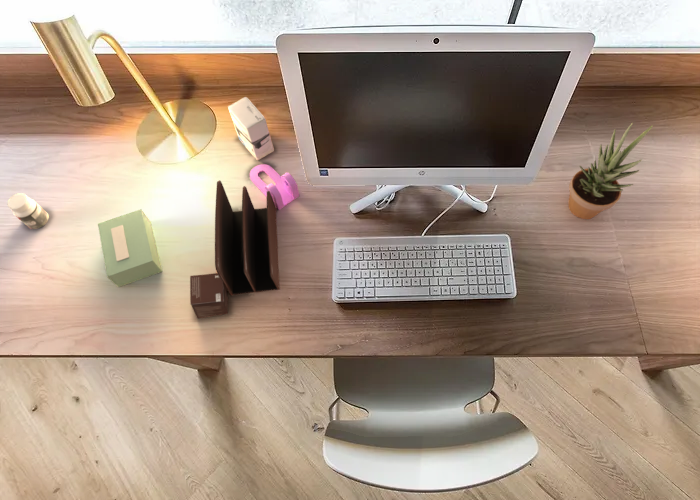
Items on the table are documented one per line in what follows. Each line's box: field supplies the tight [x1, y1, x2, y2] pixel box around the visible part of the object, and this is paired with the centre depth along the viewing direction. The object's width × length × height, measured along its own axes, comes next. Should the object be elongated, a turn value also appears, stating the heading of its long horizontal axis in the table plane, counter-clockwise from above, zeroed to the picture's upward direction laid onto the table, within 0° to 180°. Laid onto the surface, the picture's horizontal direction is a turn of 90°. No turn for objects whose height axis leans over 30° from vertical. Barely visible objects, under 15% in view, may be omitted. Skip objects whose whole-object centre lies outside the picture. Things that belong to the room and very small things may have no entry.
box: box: [189, 272, 229, 319], centre depth 94 cm, size 6×6×7 cm
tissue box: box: [97, 208, 163, 288], centre depth 101 cm, size 6×13×9 cm
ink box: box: [227, 96, 275, 161], centre depth 111 cm, size 8×5×12 cm, turn 37°
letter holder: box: [214, 179, 281, 297], centre depth 96 cm, size 10×20×14 cm, turn 6°
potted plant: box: [567, 122, 654, 220], centre depth 94 cm, size 10×10×25 cm
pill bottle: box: [6, 192, 50, 230], centre depth 105 cm, size 5×5×8 cm
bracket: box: [248, 163, 300, 211], centre depth 107 cm, size 13×6×7 cm, turn 40°
